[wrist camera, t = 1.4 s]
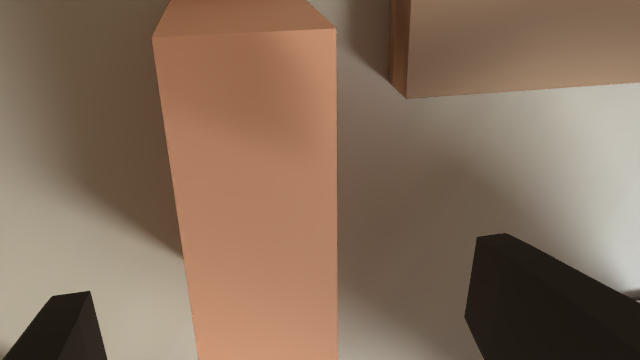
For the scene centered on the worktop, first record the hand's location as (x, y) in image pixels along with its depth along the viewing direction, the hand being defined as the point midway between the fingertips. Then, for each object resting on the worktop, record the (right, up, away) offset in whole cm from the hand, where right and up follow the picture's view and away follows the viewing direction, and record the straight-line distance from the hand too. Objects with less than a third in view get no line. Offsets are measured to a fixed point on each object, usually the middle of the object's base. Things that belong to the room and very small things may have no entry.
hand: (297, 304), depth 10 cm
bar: (-2, +4, +9) cm, 10 cm away
